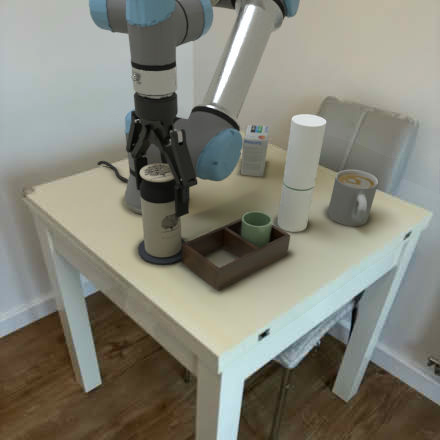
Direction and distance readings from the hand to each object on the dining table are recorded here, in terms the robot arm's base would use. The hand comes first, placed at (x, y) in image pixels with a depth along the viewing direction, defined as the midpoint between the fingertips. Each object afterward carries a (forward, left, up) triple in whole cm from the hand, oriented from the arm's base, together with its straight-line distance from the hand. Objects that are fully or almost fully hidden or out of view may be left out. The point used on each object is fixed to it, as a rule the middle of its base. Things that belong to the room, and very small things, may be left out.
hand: (161, 201), depth 92 cm
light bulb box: (-18, +45, -12) cm, 50 cm away
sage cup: (+12, +16, -12) cm, 23 cm away
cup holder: (+12, +10, -12) cm, 20 cm away
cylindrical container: (+10, +31, -12) cm, 35 cm away
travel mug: (0, 0, -12) cm, 12 cm away
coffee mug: (+17, +44, -12) cm, 49 cm away
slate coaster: (0, 0, -12) cm, 12 cm away
